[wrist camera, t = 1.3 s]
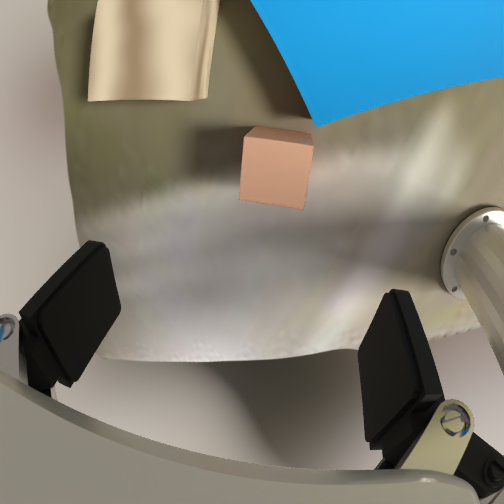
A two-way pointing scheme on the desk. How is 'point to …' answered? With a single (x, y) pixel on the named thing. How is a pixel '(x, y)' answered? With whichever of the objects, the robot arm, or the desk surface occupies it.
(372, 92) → the book
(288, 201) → the block
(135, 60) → the base
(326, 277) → the desk surface
